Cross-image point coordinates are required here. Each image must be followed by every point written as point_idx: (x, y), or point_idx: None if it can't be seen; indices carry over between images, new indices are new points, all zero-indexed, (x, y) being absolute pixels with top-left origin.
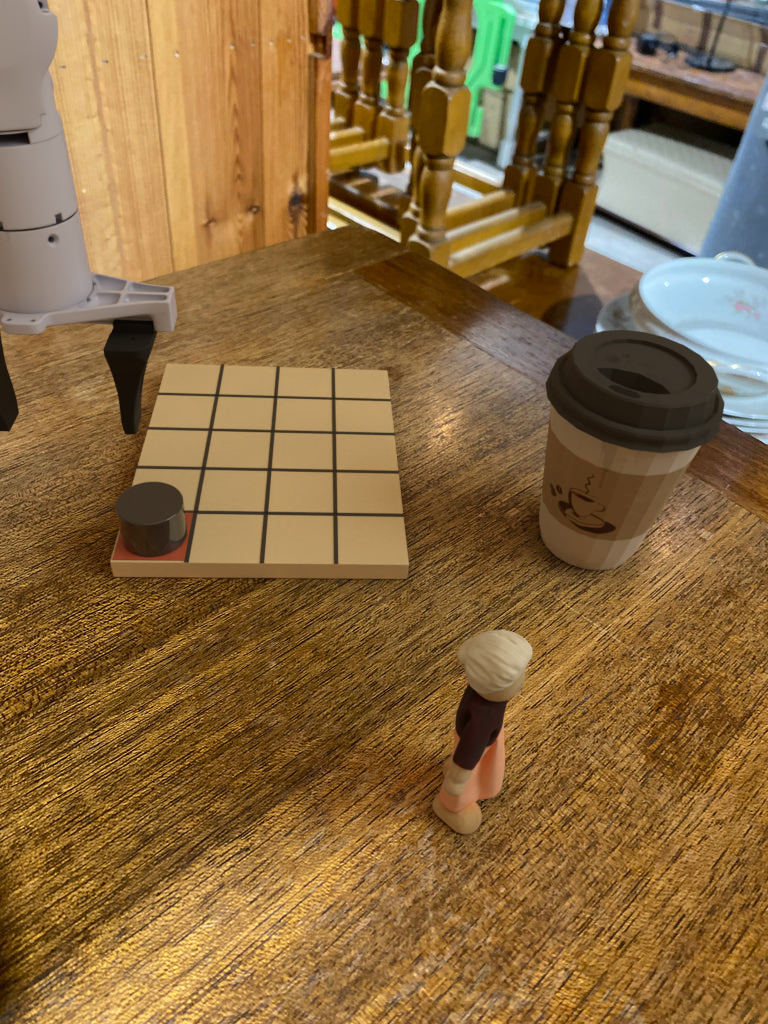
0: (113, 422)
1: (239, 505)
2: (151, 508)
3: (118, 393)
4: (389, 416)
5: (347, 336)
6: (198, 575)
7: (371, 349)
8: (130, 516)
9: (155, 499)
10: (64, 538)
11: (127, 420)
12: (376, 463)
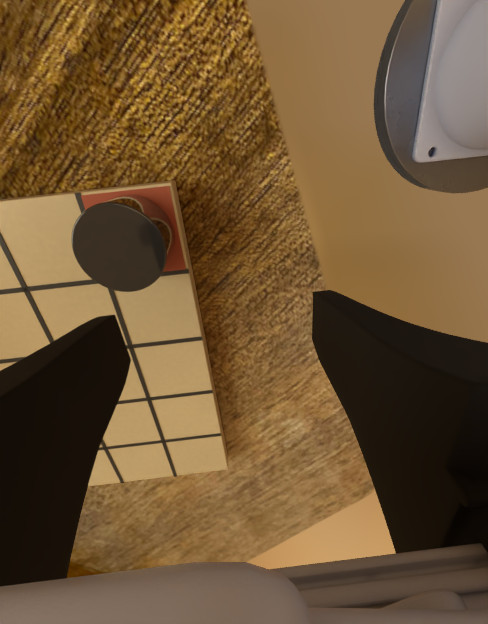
0: (257, 398)
1: (63, 297)
2: (111, 238)
3: (45, 363)
4: None
5: (91, 521)
6: (74, 191)
7: None
8: (131, 218)
9: (113, 256)
10: (251, 237)
11: (83, 327)
12: None
